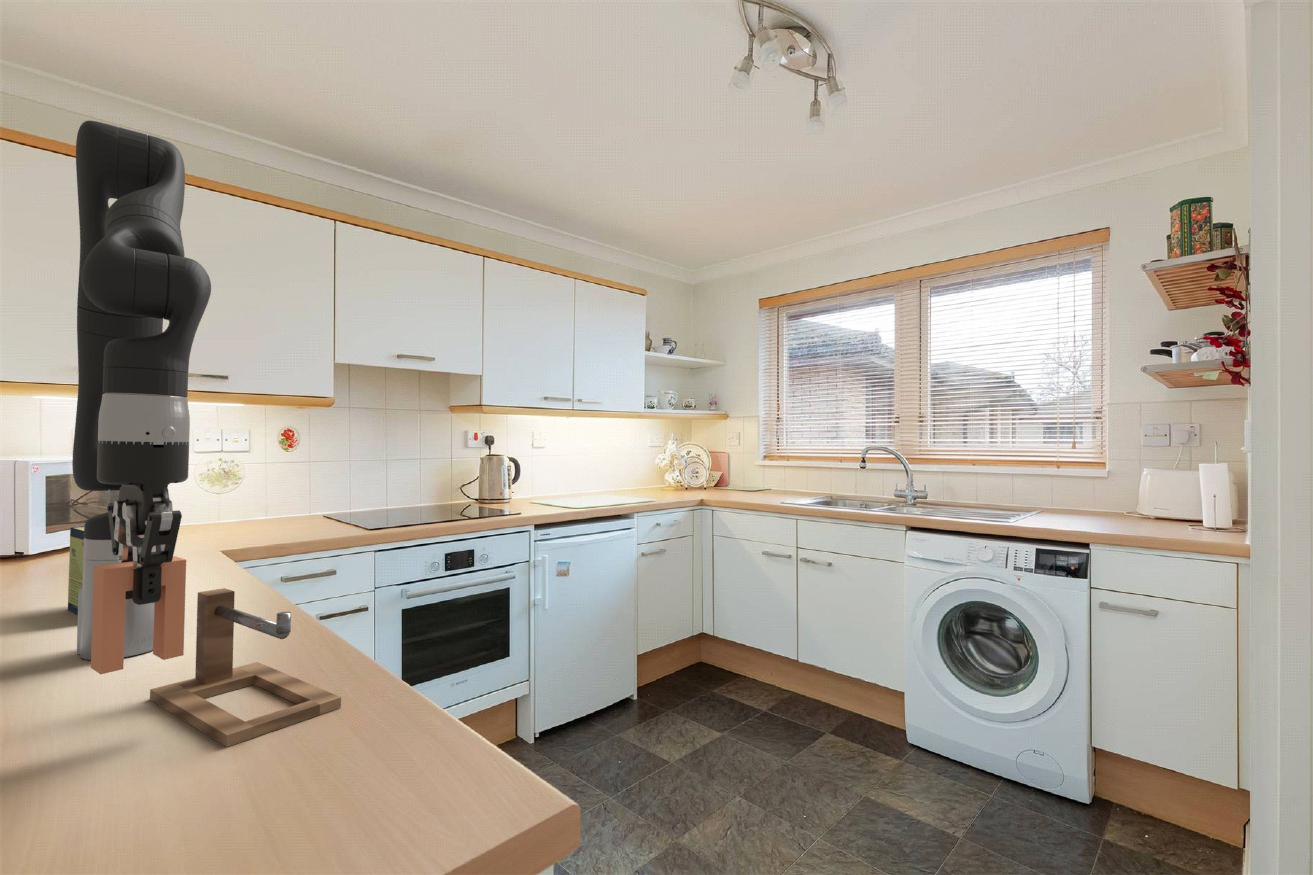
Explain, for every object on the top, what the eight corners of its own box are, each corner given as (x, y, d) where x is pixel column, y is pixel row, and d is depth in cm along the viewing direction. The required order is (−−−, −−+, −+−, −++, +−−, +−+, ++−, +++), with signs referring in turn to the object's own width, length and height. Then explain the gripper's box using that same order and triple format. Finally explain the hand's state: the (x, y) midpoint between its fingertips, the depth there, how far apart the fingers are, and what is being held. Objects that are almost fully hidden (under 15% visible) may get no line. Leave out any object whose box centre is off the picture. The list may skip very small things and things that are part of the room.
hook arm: (214, 617, 78) (215, 594, 78) (226, 615, 79) (227, 592, 79) (279, 641, 69) (280, 615, 69) (293, 638, 70) (293, 612, 70)
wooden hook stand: (149, 699, 75) (152, 598, 76) (257, 670, 85) (259, 581, 85) (226, 746, 64) (229, 627, 64) (340, 707, 74) (343, 604, 74)
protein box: (96, 623, 107) (99, 533, 107) (65, 610, 115) (68, 526, 115) (169, 610, 115) (171, 527, 116) (135, 599, 124) (137, 521, 124)
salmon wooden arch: (100, 674, 62) (103, 569, 62) (90, 667, 64) (93, 565, 64) (183, 655, 68) (186, 559, 68) (172, 649, 70) (175, 556, 70)
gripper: (77, 436, 67) (73, 596, 67) (123, 438, 59) (118, 620, 59) (162, 437, 73) (158, 584, 73) (214, 440, 65) (209, 603, 65)
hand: (140, 599), depth 66 cm, fingers closed on salmon wooden arch, 3 cm apart
